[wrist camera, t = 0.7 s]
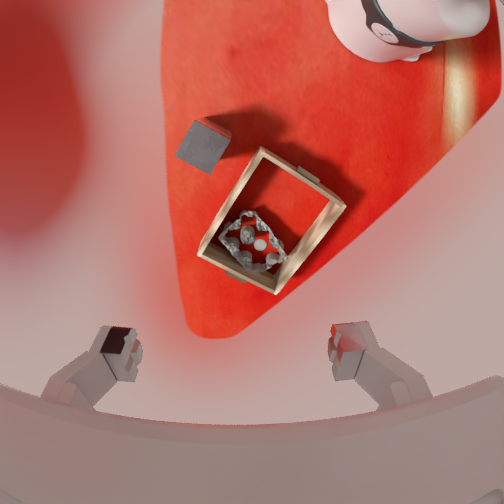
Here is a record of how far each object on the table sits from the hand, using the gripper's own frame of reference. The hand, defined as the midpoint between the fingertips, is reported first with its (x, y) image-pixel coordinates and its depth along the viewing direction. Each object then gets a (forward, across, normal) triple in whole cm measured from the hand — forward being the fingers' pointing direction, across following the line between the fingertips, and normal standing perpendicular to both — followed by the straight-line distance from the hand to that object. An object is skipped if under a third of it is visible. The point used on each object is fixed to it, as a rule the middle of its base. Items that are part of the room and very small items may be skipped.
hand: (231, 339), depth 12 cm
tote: (+37, -4, +10) cm, 38 cm away
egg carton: (+37, -1, +14) cm, 40 cm away
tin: (+37, +5, -3) cm, 37 cm away
